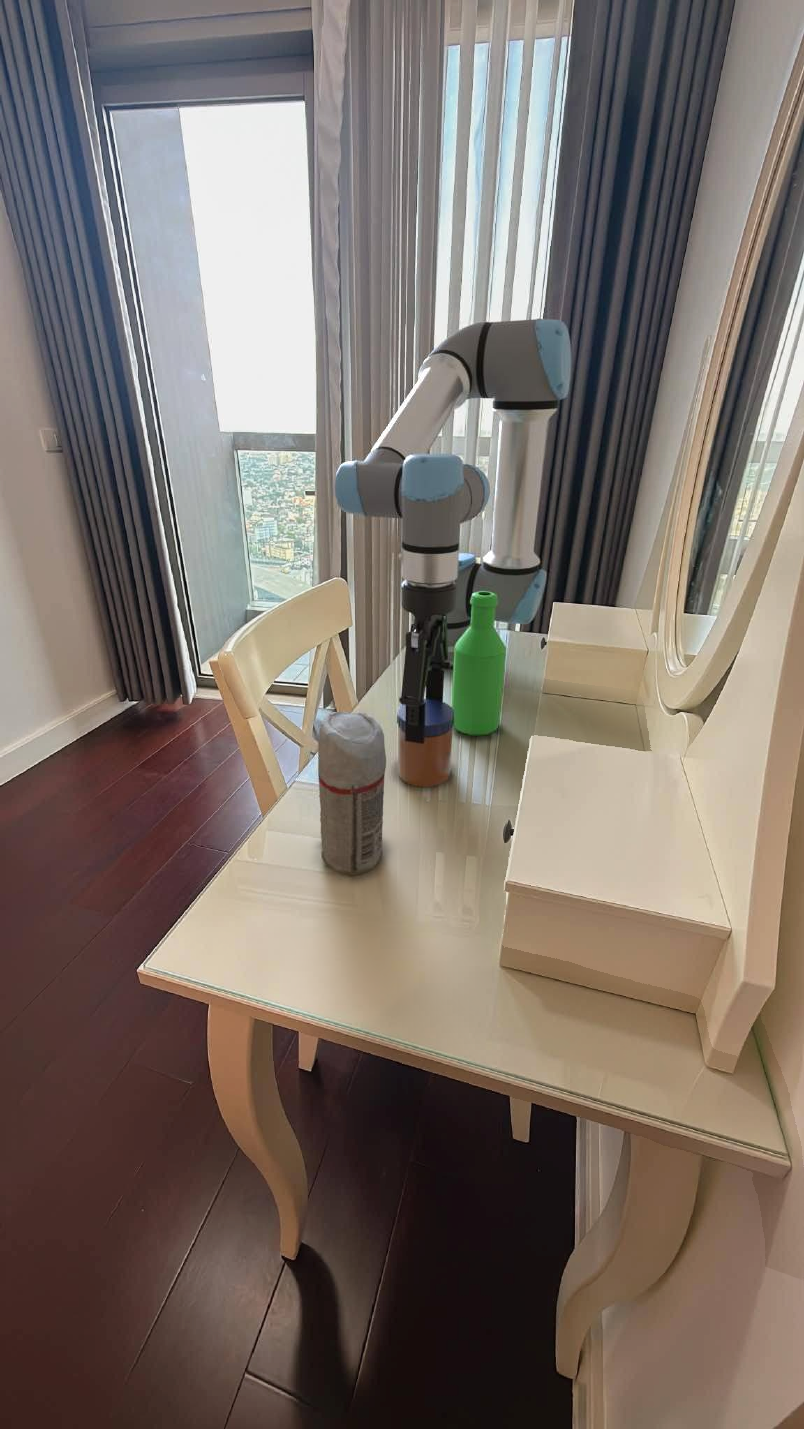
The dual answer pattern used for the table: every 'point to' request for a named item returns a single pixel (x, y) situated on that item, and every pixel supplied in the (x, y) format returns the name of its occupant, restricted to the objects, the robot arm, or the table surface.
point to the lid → (431, 717)
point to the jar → (425, 759)
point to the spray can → (351, 791)
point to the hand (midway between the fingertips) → (424, 723)
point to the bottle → (478, 670)
